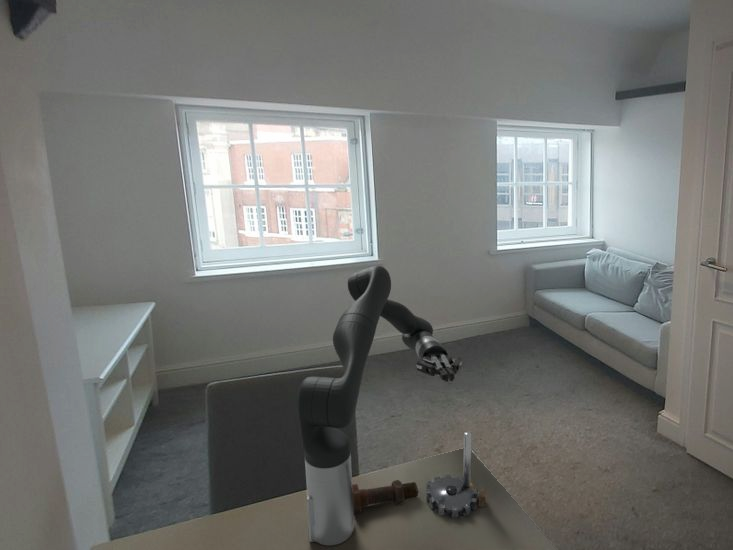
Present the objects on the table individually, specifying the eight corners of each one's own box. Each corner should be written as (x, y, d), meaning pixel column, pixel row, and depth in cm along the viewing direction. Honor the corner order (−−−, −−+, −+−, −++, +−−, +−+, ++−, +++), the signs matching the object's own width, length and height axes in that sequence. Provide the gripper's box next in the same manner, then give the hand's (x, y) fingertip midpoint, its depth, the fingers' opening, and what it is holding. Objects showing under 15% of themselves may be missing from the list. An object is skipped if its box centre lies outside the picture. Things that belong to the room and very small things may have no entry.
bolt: (417, 506, 95) (352, 517, 92) (411, 483, 99) (349, 493, 96) (422, 495, 91) (354, 506, 88) (416, 472, 95) (351, 482, 92)
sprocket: (446, 525, 87) (446, 461, 84) (416, 491, 97) (415, 433, 94) (488, 505, 92) (489, 444, 89) (455, 475, 102) (455, 420, 99)
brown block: (479, 506, 92) (479, 496, 91) (478, 499, 94) (478, 489, 93) (484, 506, 92) (484, 496, 91) (484, 500, 93) (484, 490, 93)
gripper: (408, 342, 120) (423, 366, 103) (453, 338, 122) (475, 361, 105) (408, 366, 122) (423, 394, 105) (453, 362, 123) (475, 389, 106)
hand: (449, 378), depth 105 cm, fingers closed
